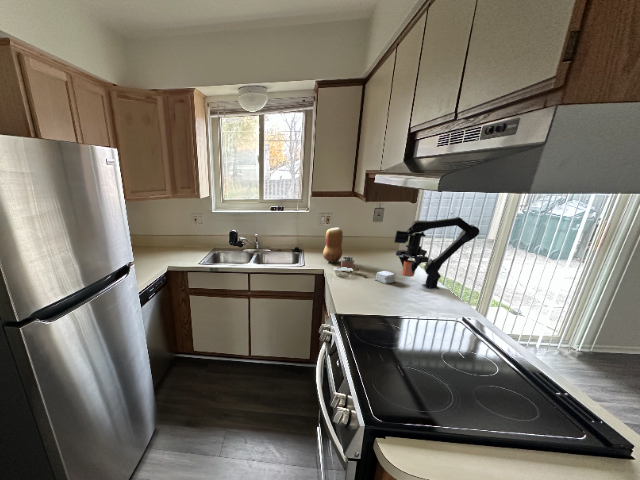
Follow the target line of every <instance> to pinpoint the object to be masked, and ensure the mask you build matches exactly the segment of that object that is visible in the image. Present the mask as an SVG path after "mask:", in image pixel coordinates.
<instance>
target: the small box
mask: <svg viewBox="0 0 640 480" xmlns="http://www.w3.org/2000/svg"><path fill="white" fill-rule="evenodd" d="M396 277H397V274H396V273H394V272H391V271H388V270H383V271H378V272H376V277H375V281H378V282H381V283H383V284H385V285H387V284H392V283H395V281H396Z"/></svg>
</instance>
